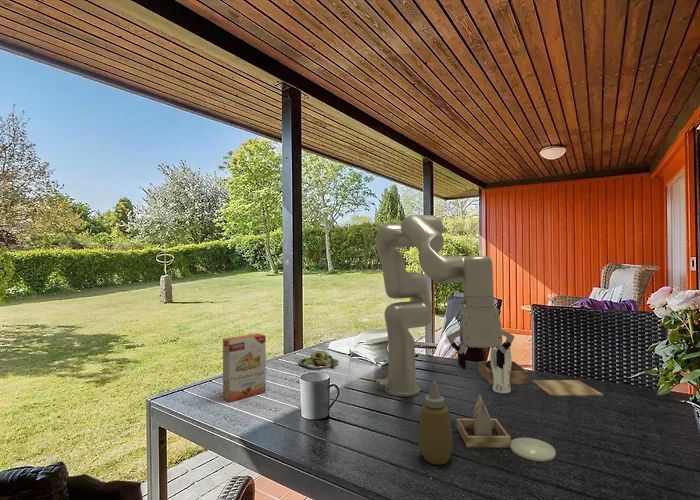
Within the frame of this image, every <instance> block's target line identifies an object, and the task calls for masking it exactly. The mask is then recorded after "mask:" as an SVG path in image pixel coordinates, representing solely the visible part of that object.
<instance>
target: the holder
mask: <svg viewBox="0 0 700 500" xmlns="http://www.w3.org/2000/svg"><path fill="white" fill-rule="evenodd" d="M490 419H491V430H495V431H496V433H497V434H498V435H492V436H475V435H469V434H468V432H467V431H466V430H474V421H473V418H456V429H457V431H458V432H459V434H460V437H461V439H462V440H463V443H464V444H465V447H466V448H510V444H511V441H512V437H511V435H510V434H509V433H508V431H506V429H505V427H503V425H502V424H501V423H500V421H499V420H498V419H497V418H490Z"/></svg>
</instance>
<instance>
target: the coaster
mask: <svg viewBox="0 0 700 500" xmlns="http://www.w3.org/2000/svg"><path fill="white" fill-rule="evenodd" d="M509 448H510V450H511V452H512V453H514V454H515V455H516V456H518V457H520V458H522V459H525V460H529V461H532V462H550V461H553V460H554V459H555V458H556V455H557V454H556V449H555V448H554V446H552V445H551V444H549V443H547V442H546V441H543V440H541V439H536V438H532V437H517V438H514V439H511V444H510V447H509Z"/></svg>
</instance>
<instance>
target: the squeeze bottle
mask: <svg viewBox="0 0 700 500" xmlns="http://www.w3.org/2000/svg"><path fill="white" fill-rule="evenodd" d="M445 403H446V401H445V397H444V396H443V395H440V391H439V387H438V383H437V381H432V382H431V384H430V389H429V394H428V395H425V396H424V404H423V405H422V406H421V408H420V418H419V419H420V421H419V433H418V434H419V435H418V445H419V448H420V450H421V453H422V457H423V458H424V460H425V461H426V462H427V463H428V464H429V463H430V464H432V465H444V464H447V463H449V460H450V457H451V454H452V451H453V447H454V438H453V432H452V425H451V417H450V416H451V415H450V410H449V407H447V406H446V404H445Z"/></svg>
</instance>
